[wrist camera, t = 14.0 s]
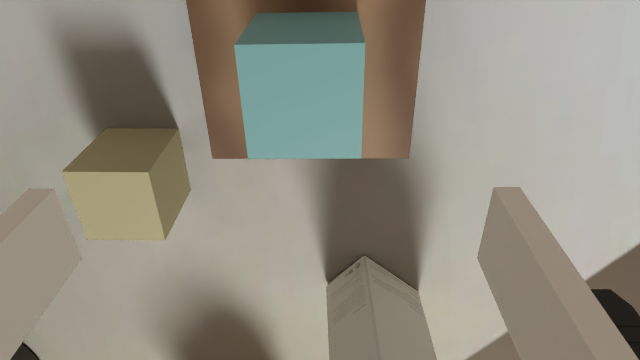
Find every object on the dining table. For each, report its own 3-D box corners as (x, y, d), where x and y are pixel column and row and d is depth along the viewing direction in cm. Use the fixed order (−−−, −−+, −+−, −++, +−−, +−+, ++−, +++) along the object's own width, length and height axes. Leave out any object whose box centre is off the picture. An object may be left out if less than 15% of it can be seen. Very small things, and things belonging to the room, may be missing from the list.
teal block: (265, 107, 29) (248, 159, 23) (256, 13, 26) (234, 44, 20) (355, 106, 29) (361, 158, 23) (357, 11, 26) (365, 43, 20)
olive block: (124, 189, 39) (86, 239, 33) (106, 128, 36) (61, 171, 30) (190, 189, 39) (165, 240, 33) (178, 128, 36) (148, 172, 30)
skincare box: (325, 283, 45) (322, 432, 32) (366, 250, 42) (381, 397, 29) (383, 321, 47) (401, 471, 35) (425, 292, 45) (461, 442, 32)
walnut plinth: (226, 128, 36) (212, 158, 31) (199, -70, 28) (175, -66, 24) (399, 128, 35) (408, 158, 31) (417, -73, 28) (433, -70, 23)
